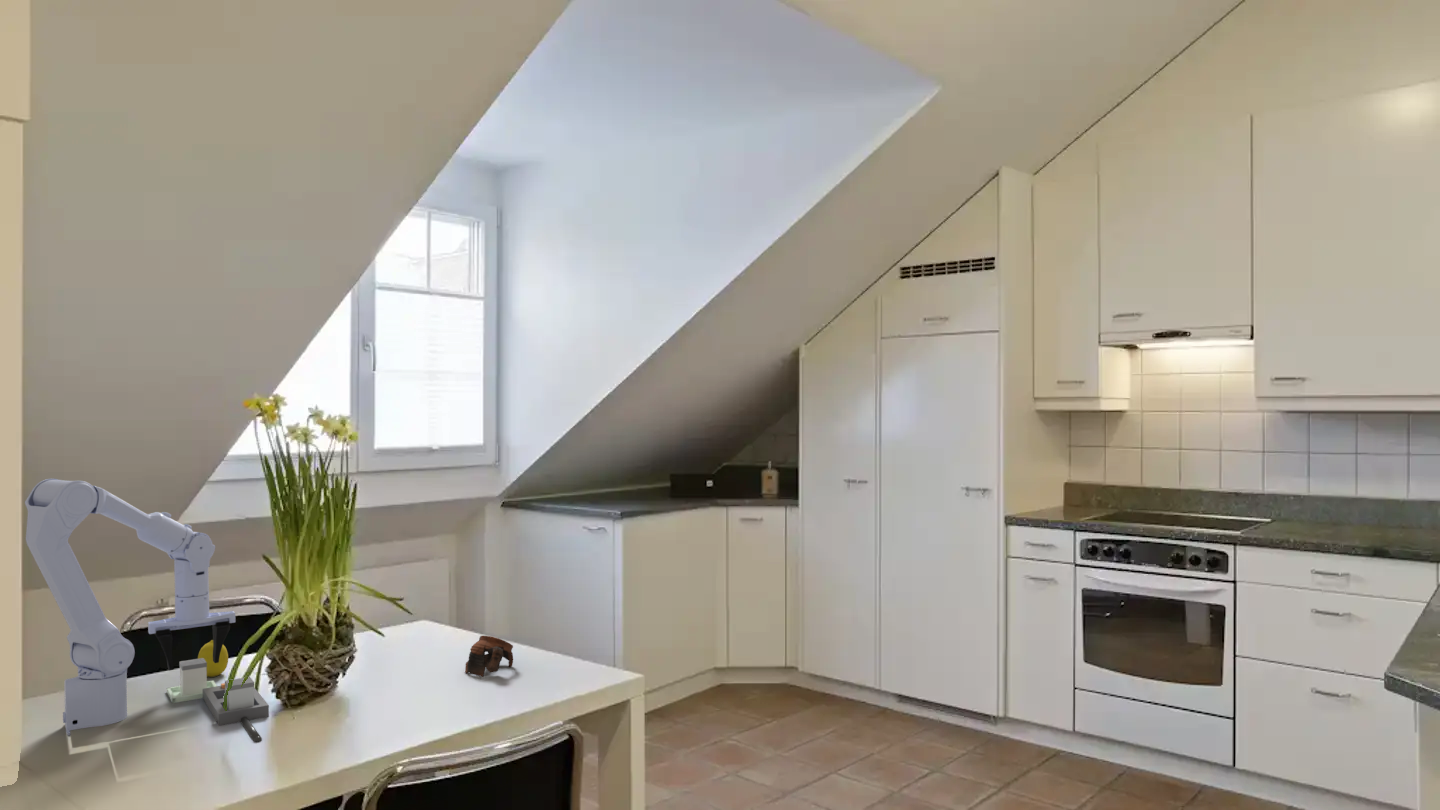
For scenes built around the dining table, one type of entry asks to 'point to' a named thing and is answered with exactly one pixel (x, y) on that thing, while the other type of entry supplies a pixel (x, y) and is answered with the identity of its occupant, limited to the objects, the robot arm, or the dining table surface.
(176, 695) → the tray
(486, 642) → the brown belt with pouches
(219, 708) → the power strip
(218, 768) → the dining table surface
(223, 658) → the lemon
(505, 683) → the dining table surface
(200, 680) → the plug
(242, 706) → the twin plug
